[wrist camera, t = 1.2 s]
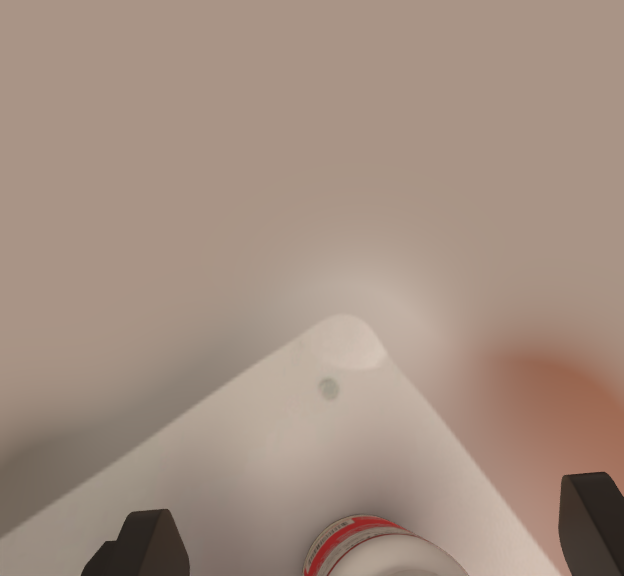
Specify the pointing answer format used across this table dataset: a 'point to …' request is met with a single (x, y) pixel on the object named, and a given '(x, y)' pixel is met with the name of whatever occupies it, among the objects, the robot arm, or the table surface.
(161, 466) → the table surface
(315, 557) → the pill bottle
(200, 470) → the table surface
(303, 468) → the table surface
